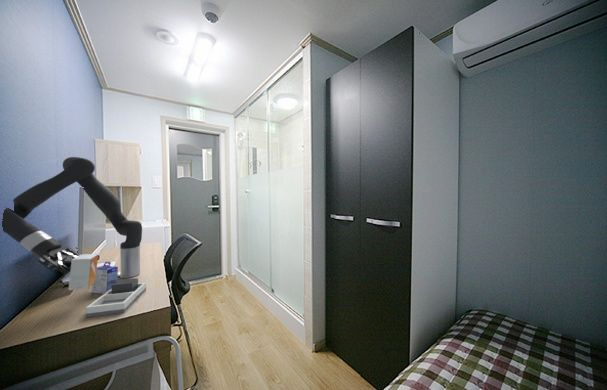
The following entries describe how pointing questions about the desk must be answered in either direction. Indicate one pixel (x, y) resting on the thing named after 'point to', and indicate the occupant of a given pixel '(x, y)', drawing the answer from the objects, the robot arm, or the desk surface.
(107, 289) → the ink cartridge box
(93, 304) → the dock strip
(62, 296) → the desk surface
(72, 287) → the small box
